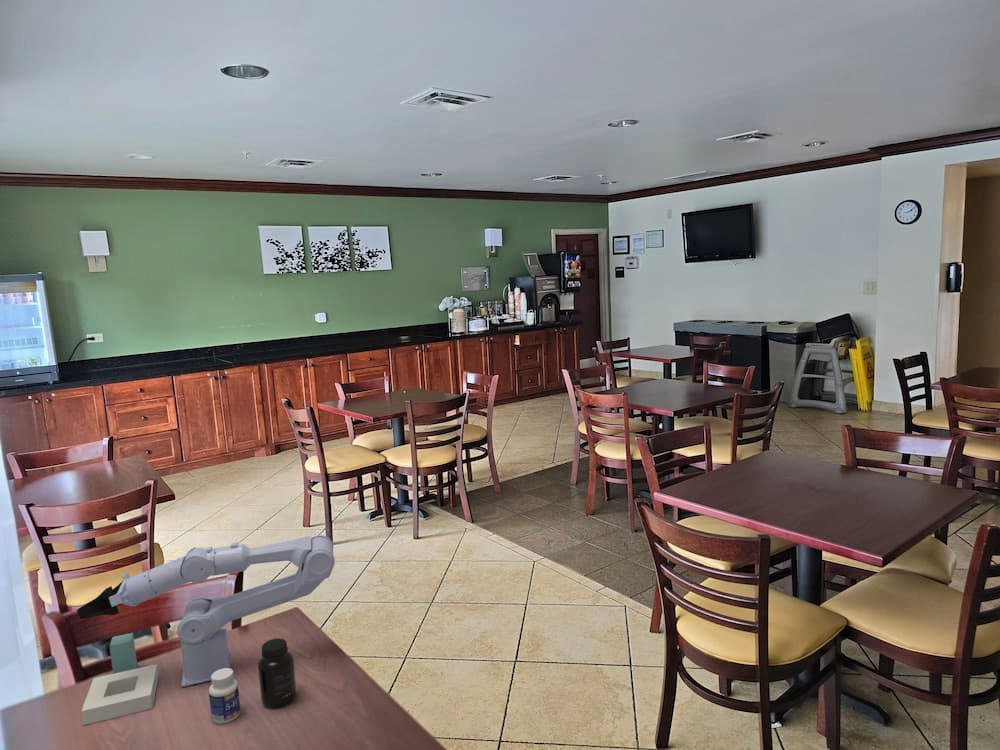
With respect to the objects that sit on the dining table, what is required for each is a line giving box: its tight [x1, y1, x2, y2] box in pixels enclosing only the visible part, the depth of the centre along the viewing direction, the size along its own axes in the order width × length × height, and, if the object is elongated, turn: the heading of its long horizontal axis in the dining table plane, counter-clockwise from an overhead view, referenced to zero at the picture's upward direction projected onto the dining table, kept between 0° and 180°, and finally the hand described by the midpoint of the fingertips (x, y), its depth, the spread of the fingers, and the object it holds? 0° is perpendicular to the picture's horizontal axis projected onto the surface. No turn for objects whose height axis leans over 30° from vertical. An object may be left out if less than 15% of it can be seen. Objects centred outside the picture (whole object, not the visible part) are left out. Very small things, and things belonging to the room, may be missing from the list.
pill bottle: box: [208, 667, 241, 725], centre depth 129 cm, size 5×5×9 cm
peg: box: [109, 632, 138, 674], centre depth 145 cm, size 4×4×8 cm
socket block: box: [80, 663, 160, 726], centre depth 136 cm, size 12×12×3 cm
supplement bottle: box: [257, 637, 297, 710], centre depth 133 cm, size 7×7×12 cm
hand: (87, 609), depth 136 cm, fingers open, 7 cm apart
